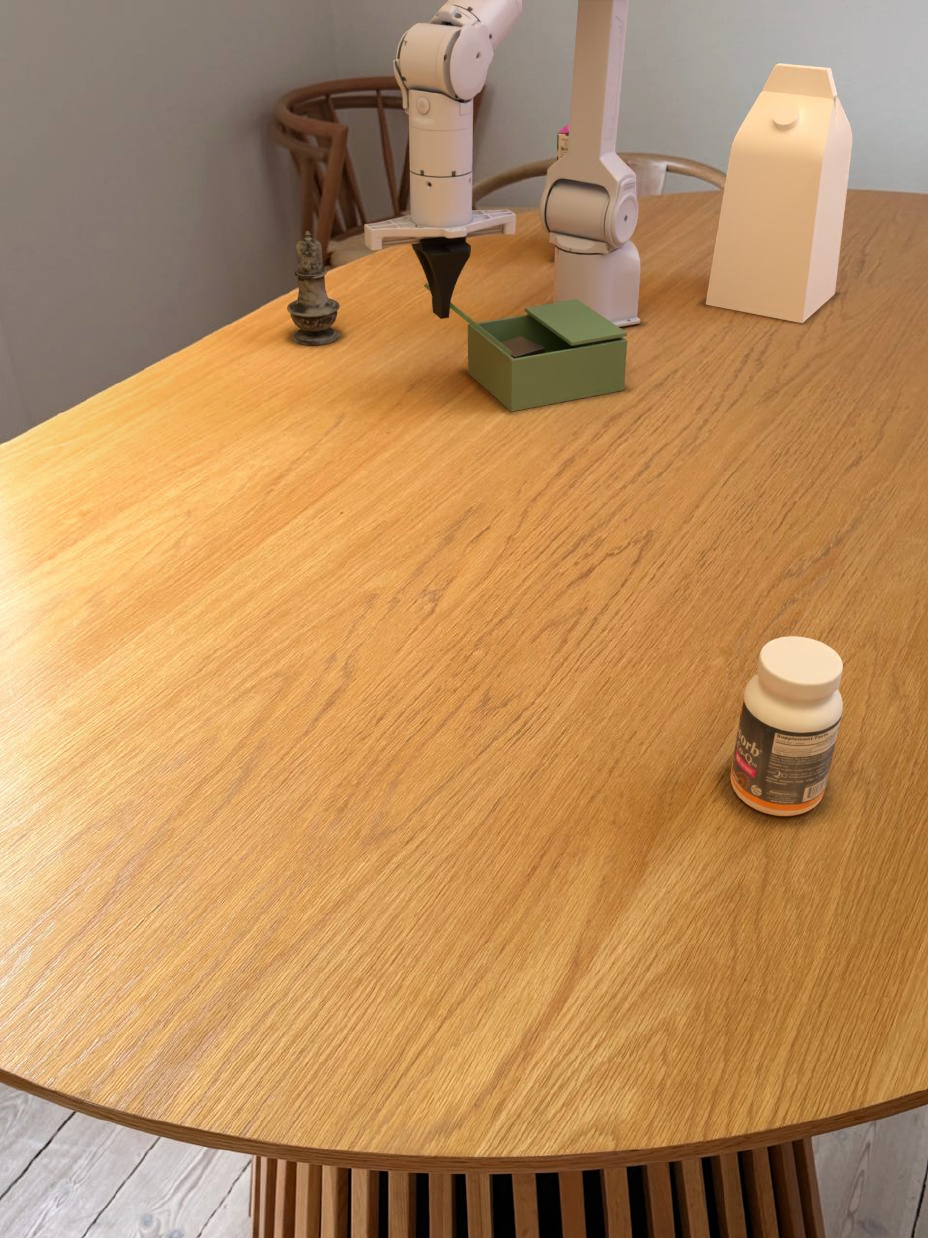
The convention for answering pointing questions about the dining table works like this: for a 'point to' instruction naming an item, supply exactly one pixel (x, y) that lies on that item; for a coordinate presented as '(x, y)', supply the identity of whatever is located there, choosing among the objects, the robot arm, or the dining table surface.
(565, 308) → the carton
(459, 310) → the flap
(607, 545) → the dining table surface
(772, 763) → the pill bottle
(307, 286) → the grey tall tiered piece
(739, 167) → the milk
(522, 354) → the block
